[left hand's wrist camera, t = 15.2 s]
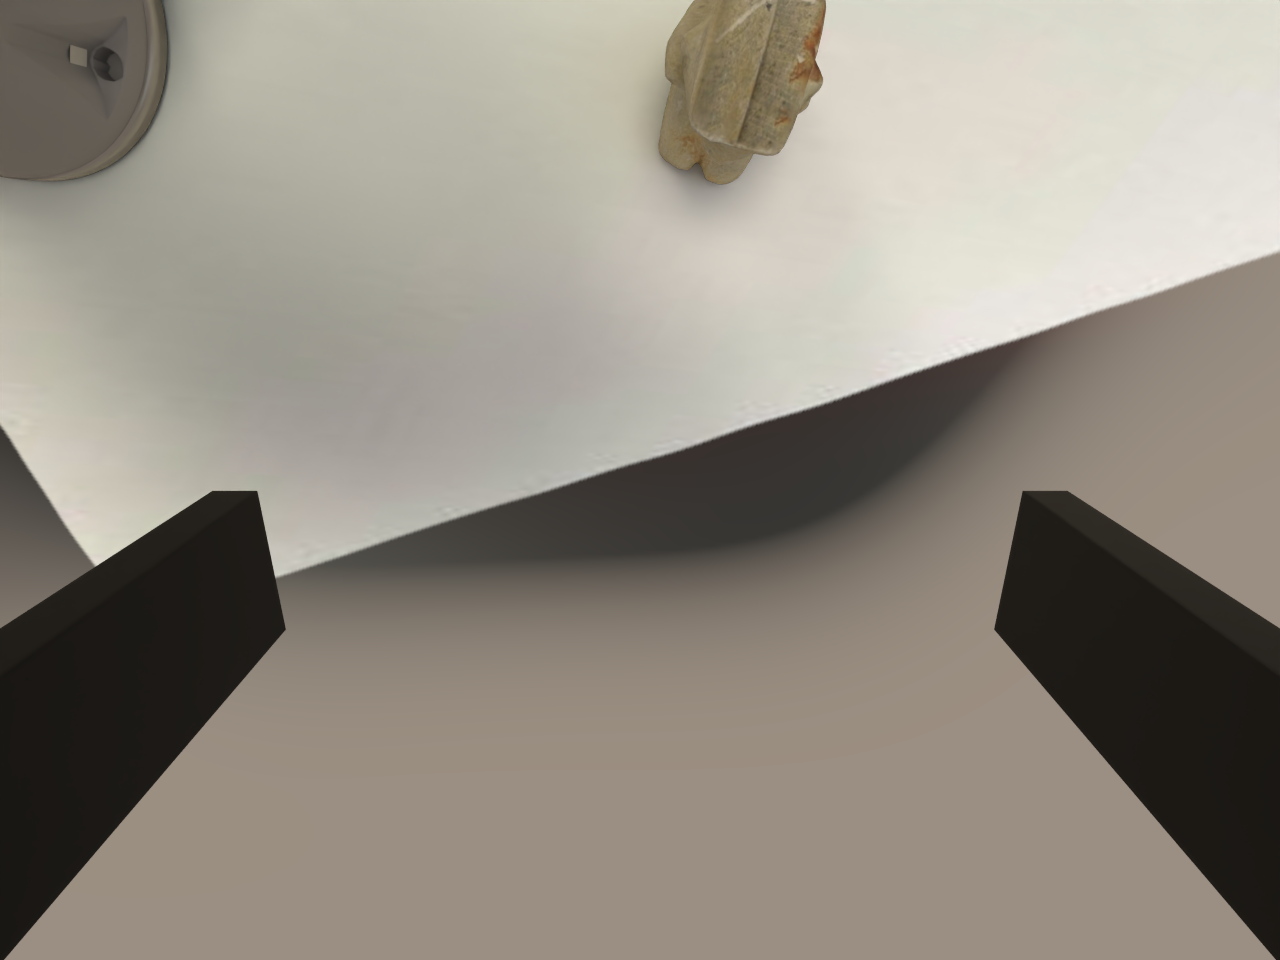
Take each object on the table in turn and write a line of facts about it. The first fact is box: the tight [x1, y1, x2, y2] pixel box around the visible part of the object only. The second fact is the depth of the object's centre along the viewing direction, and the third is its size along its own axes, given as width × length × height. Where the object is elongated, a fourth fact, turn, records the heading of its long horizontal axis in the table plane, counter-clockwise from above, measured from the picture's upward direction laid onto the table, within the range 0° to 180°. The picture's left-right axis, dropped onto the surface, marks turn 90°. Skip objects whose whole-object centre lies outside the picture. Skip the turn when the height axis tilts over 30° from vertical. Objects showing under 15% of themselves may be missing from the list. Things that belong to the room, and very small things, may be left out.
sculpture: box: [659, 0, 826, 184], centre depth 28 cm, size 6×7×15 cm
